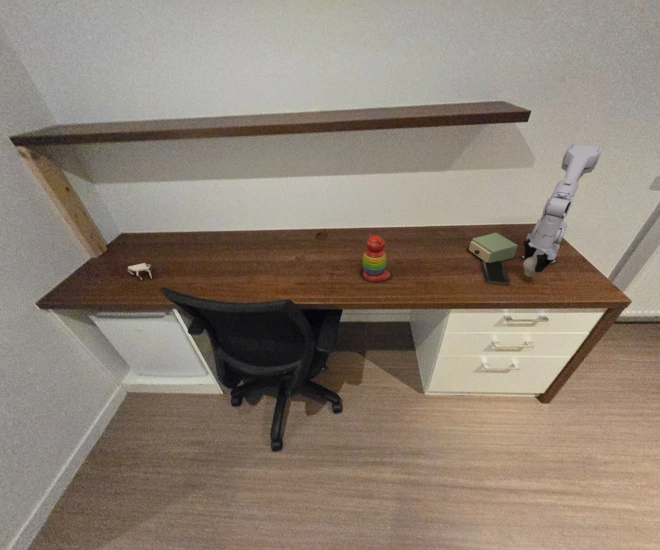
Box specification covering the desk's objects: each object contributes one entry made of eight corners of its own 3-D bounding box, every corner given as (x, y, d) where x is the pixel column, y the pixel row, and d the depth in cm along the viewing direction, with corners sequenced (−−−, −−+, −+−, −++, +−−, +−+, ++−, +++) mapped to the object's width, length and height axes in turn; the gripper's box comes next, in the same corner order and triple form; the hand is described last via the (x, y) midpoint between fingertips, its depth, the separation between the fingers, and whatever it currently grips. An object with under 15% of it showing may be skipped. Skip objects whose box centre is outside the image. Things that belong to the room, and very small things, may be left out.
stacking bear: (392, 277, 120) (396, 238, 109) (371, 285, 116) (373, 246, 106) (377, 264, 128) (378, 226, 117) (356, 271, 124) (356, 234, 114)
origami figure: (159, 268, 135) (155, 259, 132) (152, 280, 128) (147, 270, 125) (133, 271, 135) (127, 262, 132) (124, 282, 128) (118, 273, 125)
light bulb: (536, 286, 111) (546, 263, 105) (518, 283, 112) (527, 261, 107) (534, 276, 115) (543, 254, 109) (516, 274, 117) (525, 252, 111)
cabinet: (488, 264, 123) (492, 252, 120) (469, 250, 132) (472, 238, 129) (513, 257, 126) (517, 245, 122) (492, 244, 135) (496, 232, 131)
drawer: (483, 263, 123) (486, 254, 120) (466, 250, 131) (468, 241, 128) (508, 256, 125) (511, 247, 123) (490, 244, 133) (492, 235, 131)
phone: (486, 281, 114) (481, 259, 125) (486, 283, 114) (481, 261, 126) (509, 283, 112) (502, 261, 123) (509, 285, 112) (501, 263, 124)
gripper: (523, 223, 108) (512, 254, 116) (546, 244, 96) (531, 277, 104) (544, 222, 107) (531, 254, 115) (569, 243, 96) (552, 277, 104)
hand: (532, 265), depth 110 cm, fingers open, 7 cm apart
